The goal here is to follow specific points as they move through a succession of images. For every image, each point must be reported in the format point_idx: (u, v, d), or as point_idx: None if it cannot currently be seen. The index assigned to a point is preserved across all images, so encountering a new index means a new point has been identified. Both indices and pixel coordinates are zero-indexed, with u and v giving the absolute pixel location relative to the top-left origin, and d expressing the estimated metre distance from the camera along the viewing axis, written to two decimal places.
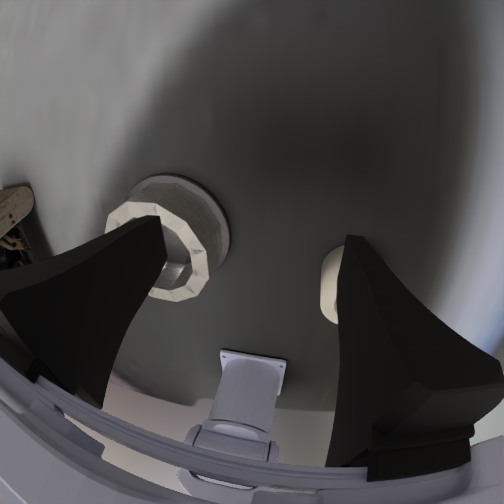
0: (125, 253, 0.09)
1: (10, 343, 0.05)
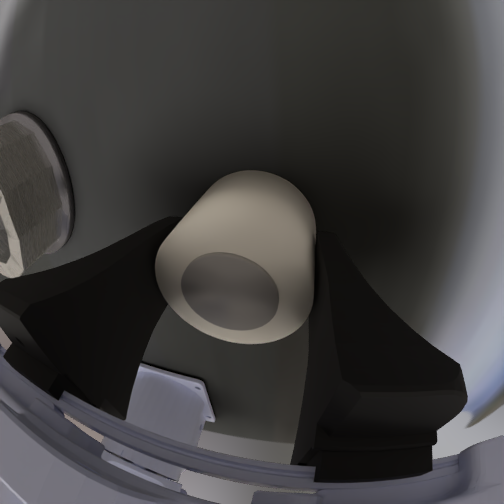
0: (150, 257, 0.08)
1: (28, 356, 0.05)
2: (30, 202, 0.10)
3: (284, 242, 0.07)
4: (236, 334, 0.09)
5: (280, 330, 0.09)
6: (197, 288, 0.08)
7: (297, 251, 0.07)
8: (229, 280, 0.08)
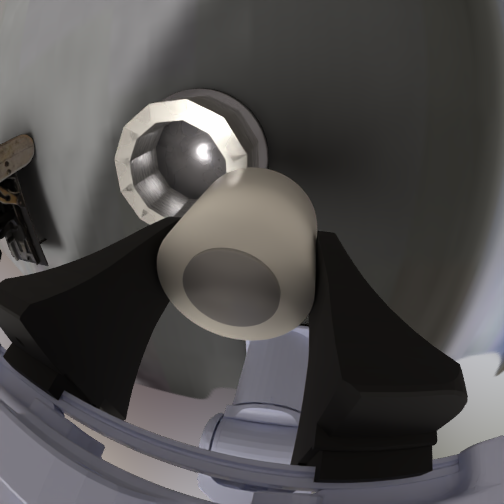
0: (150, 257, 0.08)
1: (28, 356, 0.05)
2: (253, 166, 0.16)
3: (285, 238, 0.07)
4: (237, 330, 0.09)
5: (282, 326, 0.09)
6: (199, 284, 0.08)
7: (298, 246, 0.07)
8: (231, 275, 0.08)
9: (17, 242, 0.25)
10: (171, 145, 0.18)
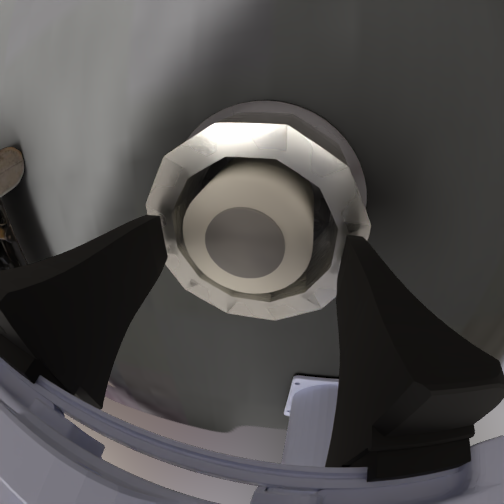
0: (125, 253, 0.09)
1: (10, 343, 0.05)
2: None
3: (288, 197, 0.09)
4: (248, 284, 0.11)
5: (286, 277, 0.11)
6: (218, 239, 0.10)
7: (298, 205, 0.09)
8: (245, 230, 0.10)
9: None
10: None
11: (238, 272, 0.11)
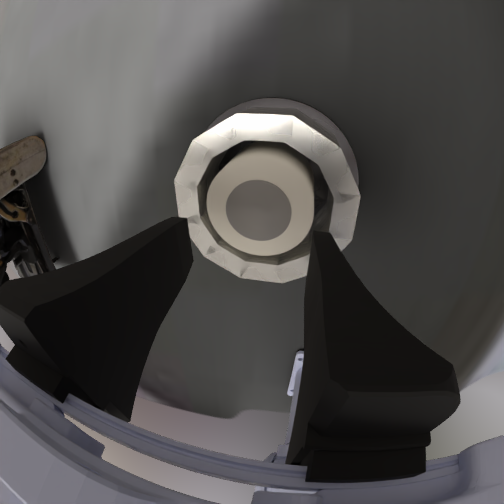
0: (155, 257, 0.08)
1: (31, 358, 0.05)
2: None
3: (294, 171, 0.11)
4: (260, 247, 0.14)
5: (292, 240, 0.13)
6: (237, 207, 0.12)
7: (302, 178, 0.11)
8: (259, 198, 0.12)
9: None
10: None
11: (252, 235, 0.13)
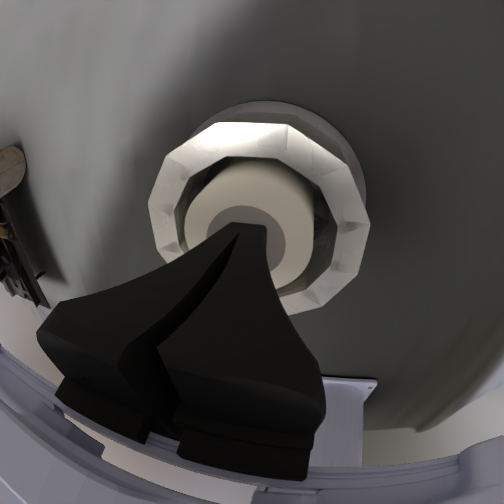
0: (225, 267, 0.08)
1: (93, 394, 0.04)
2: None
3: (289, 196, 0.09)
4: None
5: (287, 275, 0.11)
6: None
7: (299, 203, 0.09)
8: None
9: None
10: None
11: None
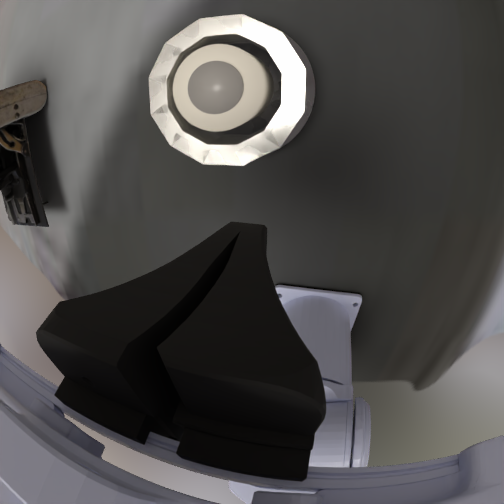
0: (225, 267, 0.08)
1: (93, 394, 0.04)
2: None
3: (243, 50, 0.11)
4: (218, 122, 0.13)
5: (246, 111, 0.13)
6: (197, 85, 0.12)
7: (251, 56, 0.11)
8: (215, 74, 0.12)
9: (16, 202, 0.22)
10: None
11: (210, 110, 0.13)
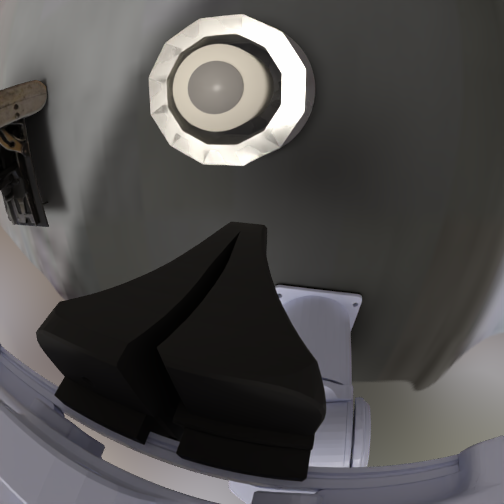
0: (225, 267, 0.08)
1: (93, 394, 0.04)
2: None
3: (243, 50, 0.11)
4: (218, 122, 0.13)
5: (246, 111, 0.13)
6: (197, 85, 0.12)
7: (251, 56, 0.11)
8: (215, 74, 0.12)
9: (16, 202, 0.22)
10: None
11: (210, 110, 0.13)
